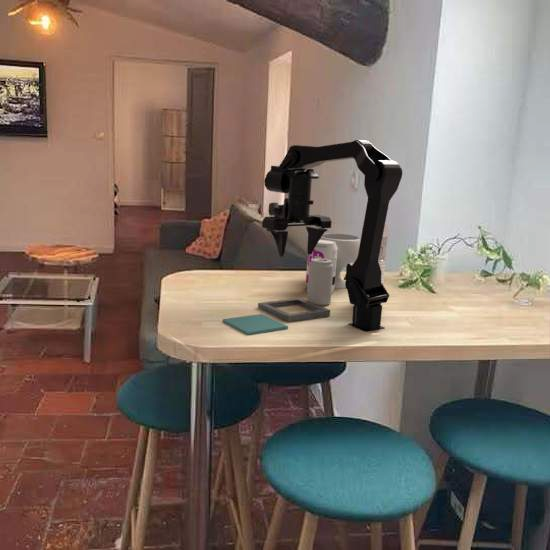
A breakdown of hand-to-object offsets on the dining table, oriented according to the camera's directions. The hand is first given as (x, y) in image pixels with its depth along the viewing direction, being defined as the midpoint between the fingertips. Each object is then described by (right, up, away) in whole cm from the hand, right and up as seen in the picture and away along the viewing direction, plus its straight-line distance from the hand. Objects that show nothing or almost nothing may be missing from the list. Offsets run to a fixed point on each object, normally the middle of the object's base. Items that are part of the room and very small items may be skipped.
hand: (295, 255), depth 163 cm
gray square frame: (-1, -15, -5) cm, 15 cm away
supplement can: (+7, -11, +16) cm, 20 cm away
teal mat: (-10, -17, -18) cm, 27 cm away
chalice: (+13, -8, +26) cm, 31 cm away
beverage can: (+6, -13, +4) cm, 15 cm away
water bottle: (+20, -14, +5) cm, 25 cm away
